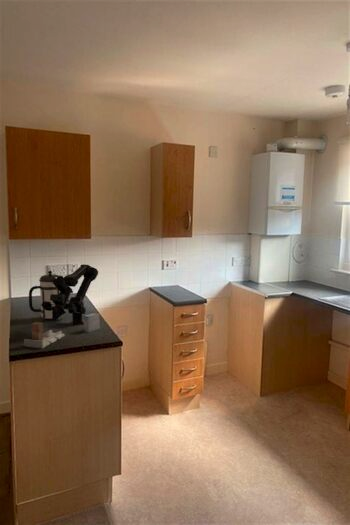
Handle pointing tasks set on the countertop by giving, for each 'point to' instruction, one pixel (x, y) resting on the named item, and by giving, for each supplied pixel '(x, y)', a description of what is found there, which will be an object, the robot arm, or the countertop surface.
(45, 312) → the coffee press
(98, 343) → the countertop surface
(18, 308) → the countertop surface
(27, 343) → the track
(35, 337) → the slider
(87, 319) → the medicine box
